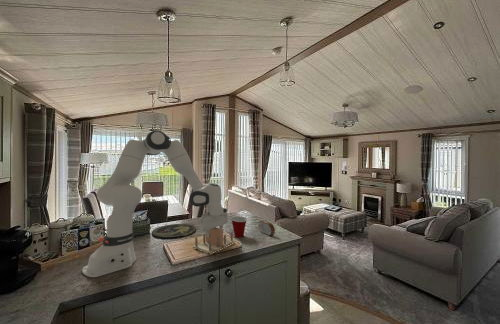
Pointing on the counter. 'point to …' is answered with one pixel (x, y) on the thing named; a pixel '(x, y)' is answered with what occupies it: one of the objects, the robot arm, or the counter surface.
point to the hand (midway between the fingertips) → (214, 234)
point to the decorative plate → (173, 231)
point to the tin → (266, 228)
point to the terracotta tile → (215, 236)
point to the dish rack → (212, 247)
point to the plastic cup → (239, 225)
